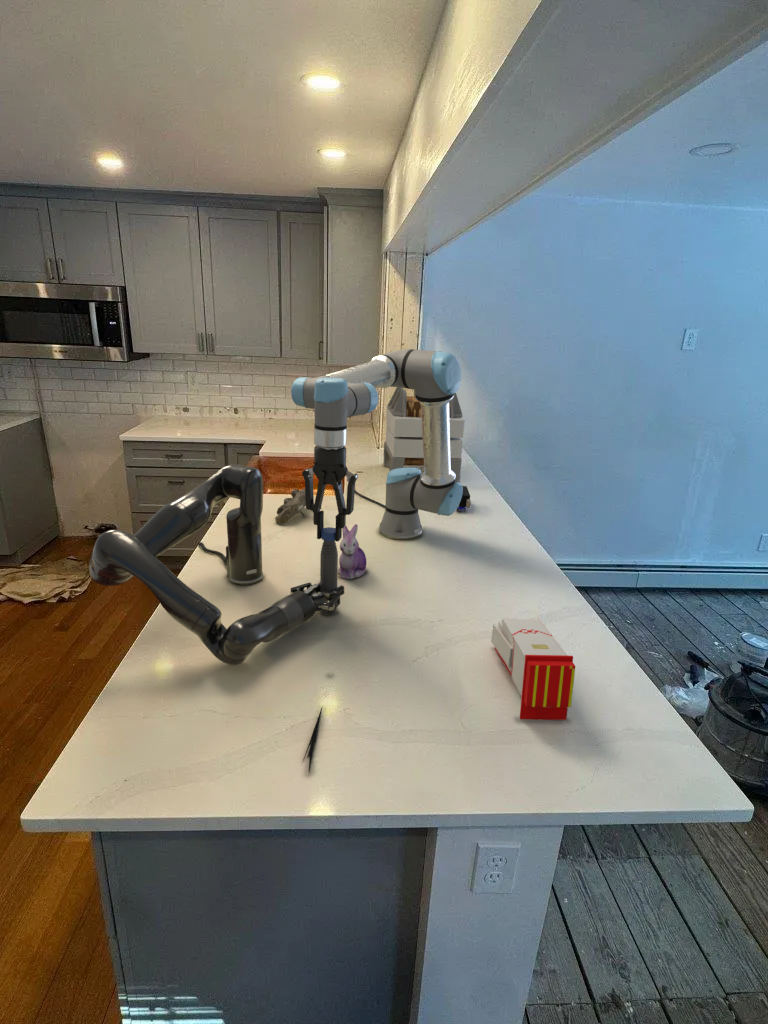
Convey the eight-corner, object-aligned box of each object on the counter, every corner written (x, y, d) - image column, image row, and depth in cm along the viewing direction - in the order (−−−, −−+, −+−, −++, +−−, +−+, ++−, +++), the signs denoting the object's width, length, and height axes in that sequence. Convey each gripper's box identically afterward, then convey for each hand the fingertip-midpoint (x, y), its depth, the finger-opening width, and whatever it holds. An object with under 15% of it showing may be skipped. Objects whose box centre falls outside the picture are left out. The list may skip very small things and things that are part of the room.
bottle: (339, 613, 147) (340, 535, 139) (323, 616, 145) (324, 537, 137) (333, 605, 150) (334, 529, 143) (317, 608, 148) (318, 531, 141)
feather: (331, 679, 122) (336, 673, 122) (307, 777, 96) (313, 769, 95) (324, 675, 122) (329, 669, 121) (298, 772, 95) (304, 764, 95)
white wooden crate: (382, 463, 289) (386, 382, 275) (445, 464, 293) (451, 384, 279) (390, 482, 257) (394, 392, 243) (460, 483, 261) (468, 394, 247)
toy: (537, 603, 136) (584, 662, 106) (532, 655, 138) (577, 726, 109) (487, 602, 135) (520, 661, 106) (483, 654, 138) (514, 725, 109)
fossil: (280, 494, 222) (309, 474, 217) (296, 512, 224) (325, 493, 219) (264, 519, 202) (296, 497, 197) (282, 539, 205) (313, 518, 200)
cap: (334, 534, 143) (334, 526, 142) (339, 539, 140) (339, 532, 139) (318, 535, 141) (319, 528, 141) (324, 541, 138) (324, 534, 137)
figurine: (344, 582, 162) (345, 534, 157) (330, 568, 171) (331, 521, 166) (373, 577, 167) (375, 529, 162) (359, 563, 175) (360, 517, 170)
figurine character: (470, 516, 223) (465, 500, 237) (473, 499, 220) (467, 484, 233) (453, 516, 223) (449, 500, 236) (455, 498, 220) (451, 483, 233)
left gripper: (269, 616, 139) (314, 590, 153) (313, 636, 132) (357, 607, 145) (268, 589, 137) (314, 565, 150) (313, 607, 129) (358, 580, 143)
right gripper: (369, 445, 134) (366, 537, 142) (301, 439, 138) (302, 528, 146) (361, 453, 127) (358, 548, 135) (290, 445, 131) (291, 539, 139)
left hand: (335, 586), depth 148 cm, fingers closed on bottle, 4 cm apart
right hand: (329, 538), depth 141 cm, fingers closed on cap, 4 cm apart
